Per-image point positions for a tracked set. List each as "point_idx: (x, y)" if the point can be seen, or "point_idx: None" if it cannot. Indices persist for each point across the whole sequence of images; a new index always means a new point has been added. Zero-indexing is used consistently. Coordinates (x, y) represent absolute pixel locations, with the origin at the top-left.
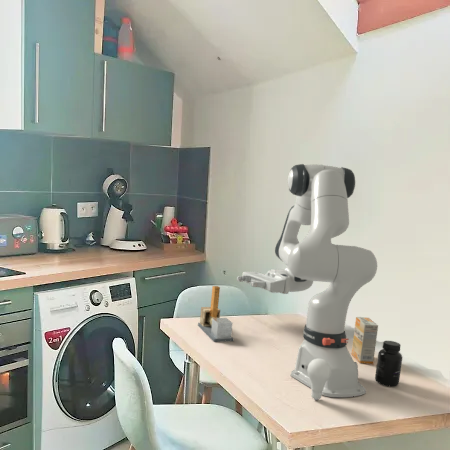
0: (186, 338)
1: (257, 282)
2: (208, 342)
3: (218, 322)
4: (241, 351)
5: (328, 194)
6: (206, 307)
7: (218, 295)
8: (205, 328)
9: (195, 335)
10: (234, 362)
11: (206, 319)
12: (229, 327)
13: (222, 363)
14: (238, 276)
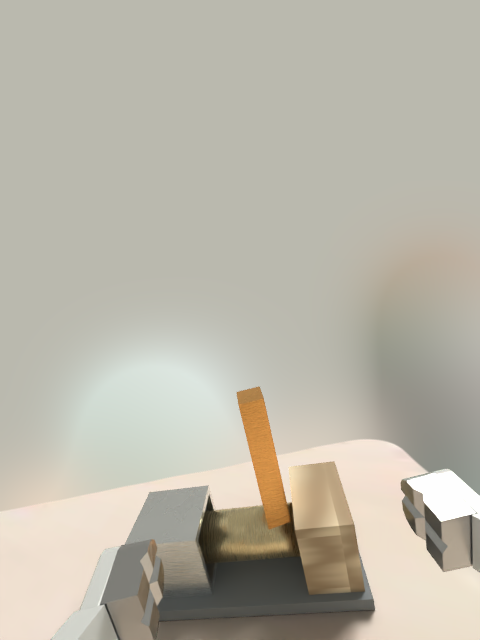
0: (222, 472)
1: (80, 613)
2: None
3: (155, 495)
4: (44, 615)
5: None
6: (332, 478)
7: (247, 439)
8: None
9: (240, 495)
10: (13, 554)
11: None
12: None
13: (38, 521)
14: (438, 472)
